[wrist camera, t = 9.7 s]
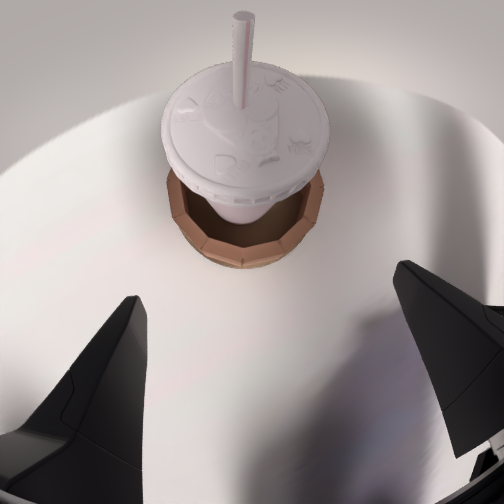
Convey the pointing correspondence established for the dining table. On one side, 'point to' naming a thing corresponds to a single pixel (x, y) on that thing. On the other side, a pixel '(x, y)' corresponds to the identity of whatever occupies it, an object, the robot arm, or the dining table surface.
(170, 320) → the dining table surface
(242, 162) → the smoothie
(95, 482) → the robot arm
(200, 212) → the round brown planter pot
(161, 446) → the dining table surface
